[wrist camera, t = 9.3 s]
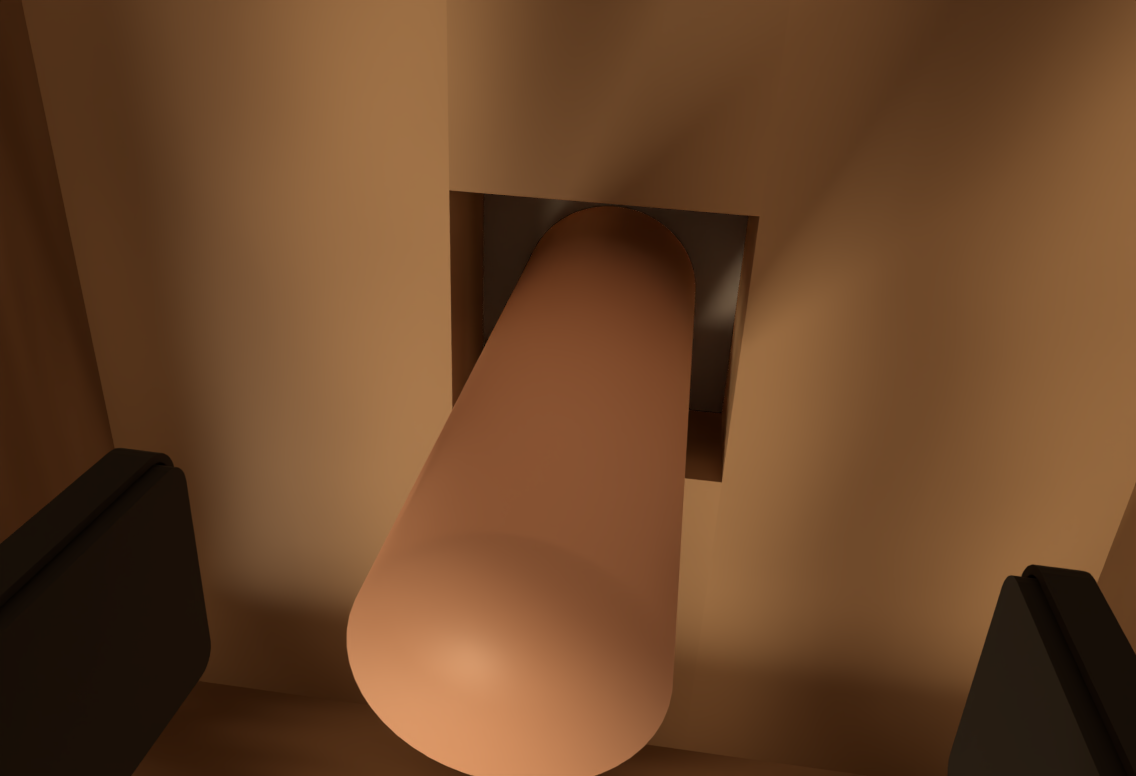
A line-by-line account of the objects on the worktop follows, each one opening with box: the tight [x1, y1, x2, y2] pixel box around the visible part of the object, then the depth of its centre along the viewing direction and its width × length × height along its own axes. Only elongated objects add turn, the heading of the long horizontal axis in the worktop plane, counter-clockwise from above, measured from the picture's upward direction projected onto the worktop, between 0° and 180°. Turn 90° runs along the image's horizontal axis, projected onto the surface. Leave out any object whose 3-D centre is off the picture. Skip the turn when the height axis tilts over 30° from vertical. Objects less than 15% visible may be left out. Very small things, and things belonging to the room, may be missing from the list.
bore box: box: [0, 0, 1136, 776], centre depth 15 cm, size 20×20×6 cm
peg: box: [347, 206, 696, 776], centre depth 14 cm, size 3×3×10 cm
